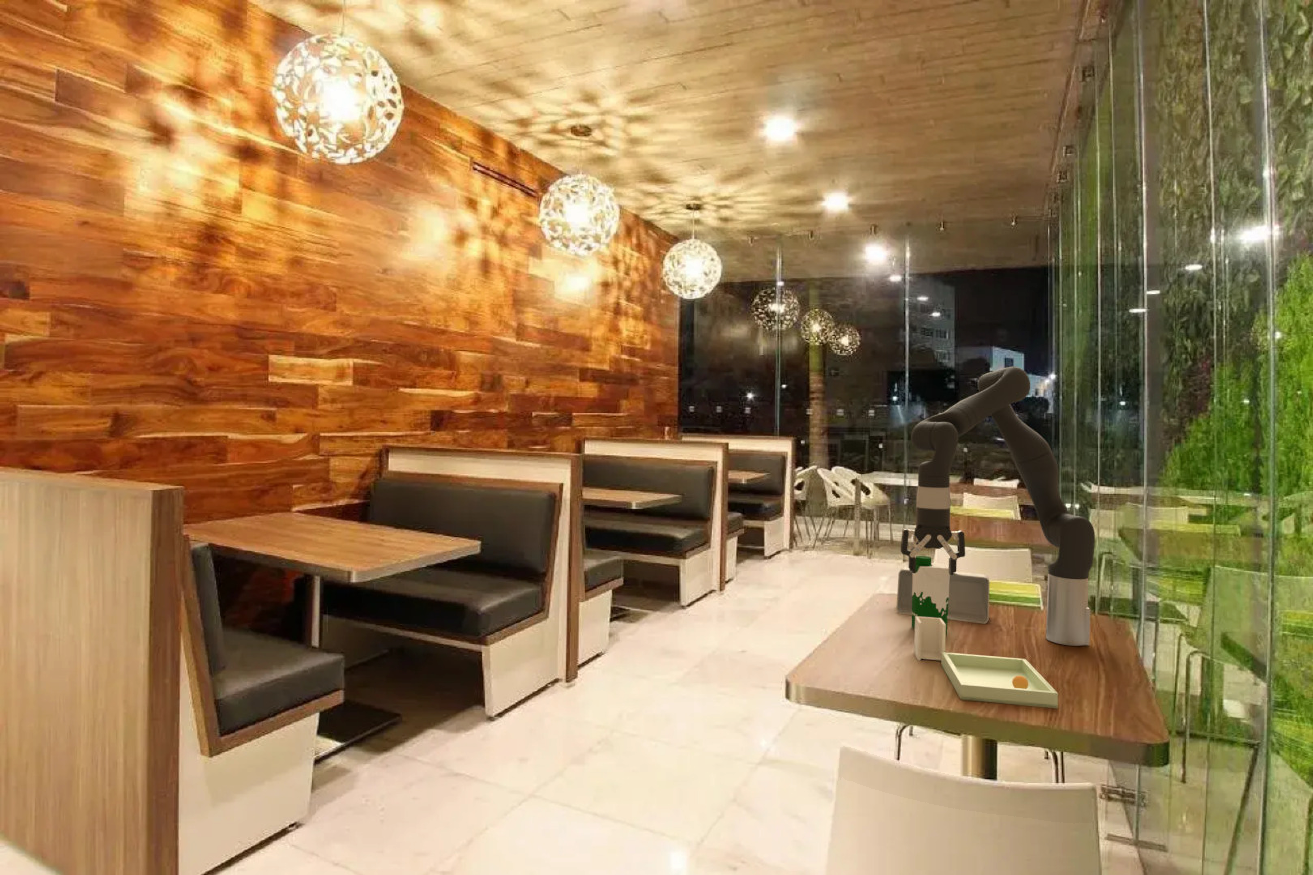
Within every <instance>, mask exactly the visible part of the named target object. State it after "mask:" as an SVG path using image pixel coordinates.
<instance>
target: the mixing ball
mask: <svg viewBox="0 0 1313 875" xmlns="http://www.w3.org/2000/svg"><path fill="white" fill-rule="evenodd" d="M1012 684H1013V686H1014V688H1022V689H1027V687H1028V681H1027V679H1026V678H1025V677H1023V676H1016V677H1014V678H1013V680H1012Z"/></svg>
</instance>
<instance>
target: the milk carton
mask: <svg viewBox="0 0 1313 875" xmlns="http://www.w3.org/2000/svg"><path fill="white" fill-rule="evenodd" d="M915 558H916V573H912V574H913V584H912V615H911V628H913V629H914V630H915V616H918V617H932V618H941V619H942V620H943V621H944V623H945V624H946V635H945V636H947V634H948V621H949V619H948V603H949V579H950V574H949V566H947V565H945V564H943V563H939V562H932V557H930V556H925V555H918V556H917V555H915Z"/></svg>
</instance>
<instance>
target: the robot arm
mask: <svg viewBox="0 0 1313 875" xmlns="http://www.w3.org/2000/svg"><path fill="white" fill-rule="evenodd" d="M977 389H978V390H977V391H978V392H977V393H975V394H972V395H970V396H968V397H966V398H964V399H962V400H960V401H958V402H956V403H955V404H954V405H952V406H950V407H949V408H948V409H946V410H945V411H944V412H942V413H938V414H935V415H932V416H930V417H928V418H926V419H924V420H921V421H920V422H918V423H917V424H916V425H915V426H914V427H913V429H912V431H911V436H910V440H911V444H912V445H913V447H914V448H916V449H917V450H919V451H921V452H922V451H923V452H934V454H933V457H932V459H931V460H928V461H923V462H921V463H920V464H919V465H918V472H917V474H918V478H917V486H918V487H917V492H916V514H915V515H916V516H915V520H916V522H915V529H907V528H902V530H901V543H900V553H901V554H902V555H903V556H904V555H905V556H906V557H908V567H909V570H910V571H911V572H912V573H916V556H917V555H918V553H919V552H920V551H921V550H922V549H923V548H924V549H928V550H930V549H935V550H940V549H942V548H943V549H944V550H945V551H946V553H947V554H948V555H949V558H948V567H949V574H950V575H953V574H954V573H956V572H957V564H958V563H957V562H958V561H957V560H958V559H960V558H964V557H965V556H966V544H965V543H966V542H965V541H966V539H965V538H966V537H965V532H963V531H962V530H957V531H951V505H952V502H951V492H950V482H951V481H950V478H951V477H950V476H951V475H950V472H951V467H952V464H953V461H954V458H955V454H956V450H957V448H958V444H959V437H961V436H963V435H965V434H966V433H968V432H969V431H971V429H973V428H974V427H975V426H977V425H978V424H980V423H982V421H984V420H985V419H987V418H989V416H991V418H992V420H993V422H994V423H995V425H996V427H997V428H998V430H999V433H1000V434H1001V436H1002V438H1003V440H1004V442H1005V445H1006V447H1007V449H1008V450H1009V453H1010V456H1011V458H1012V460H1013V463H1014V465H1015V468H1016V470H1017V472H1018V473H1019V475H1020V478H1021V479H1022V481H1023V483H1024V486H1025V488H1026V490H1027V493H1028V495H1029V498H1030V499H1031V501H1032V503H1033V506H1034V509H1035V512H1036V514H1037V518H1038V522H1039V524H1040V525H1039V526H1040V527H1041V530H1042V533H1043V536H1044V538H1045V539H1046V541H1048V543H1049V544H1050V545H1052V546H1054V547H1056V548H1058V557H1057V559H1056V560H1055V561H1052V562H1050V563H1049V564H1048V568H1047V570H1048V572H1047V573H1048V574H1047V597H1046V598H1047V600H1046V601H1047V602H1046V621H1045V622H1046V626H1045V627H1046V628H1045V639H1046V640H1048V641H1050V642H1053V643H1055V644H1060V645H1065V646H1072V647H1073V646H1075V647H1078V646H1090V635H1091V634H1090V629H1091V628H1090V627H1091V608H1090V607H1089V606H1088V605H1089V603H1088V602H1089V601H1088V600H1089V598H1088V597H1089V574H1090V571H1091V569H1092V567H1093V562H1094V553H1095V543H1096V537H1095V536H1096V535H1095V534H1096V533H1095V529H1094V526H1093V524H1092V522H1090V520H1089V519H1088V518H1085V517H1083V516H1080V515H1075V514H1070V513H1069V511H1068V509H1067V508H1066V506H1065V504H1064V502H1063V500H1062V498H1061V495H1060V492H1059V466H1058V462H1057V460H1056V458H1055V456H1054V453H1053V452H1052V449H1051V447H1050V445H1049V443H1048V442H1047V441H1046V439H1045V438H1043V436H1041V435H1040V434H1039V433H1038V432H1037V431H1035V430H1034V429H1033V428H1031V427H1030V426H1028V425H1027V424H1026V423H1024V422H1023V421H1022V420H1021V419H1020V418H1019V416H1017V414H1016V412H1015V411H1014V409H1013V407H1012V406H1011V405H1012V404H1015V403H1017V402H1020V401H1023V400H1024V399H1025V398H1026V397H1027V396H1028V395H1029V393H1030V390H1031V380H1030V378H1029V375H1028V373H1027V372H1026V371H1025V370H1024V369H1022V368H1021V367H1018V366H1009V367H1004V368H1001V369H1000V368H999V369H997V370H993V371H990V372H987V373H984V374H982V375H981V376H980V377H979V379H978V382H977ZM913 535H914V536H915V537H916V539H917V541H916V542H915V543H914V544H913V546H912V547H911V549H910V550H909V549H908V546H909V540H910V539H911V538H912V536H913ZM952 537H953V539H954V540H955V541H956V546H957V547H956V548H957V551H953V548H952V547H951V546H950V545H949V543H948V542H949V541H950V539H951V538H952Z"/></svg>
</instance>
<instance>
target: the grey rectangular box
mask: <svg viewBox="0 0 1313 875" xmlns="http://www.w3.org/2000/svg"><path fill="white" fill-rule="evenodd" d="M897 578H898V579H897V594H896V611H897V613H898V614H899V615H900V614H901V615H908V616H912V584H913V574H912V572H911V571H910V570H909V566H903V567H901V568H900V570H899V572H898V577H897ZM989 613H990V578H989V576H988V575H986V574H983V573H973V572H962V571H956V573H954V574H953V575H950V579H949V603H948V620H951V621H960V622H968V623H975V624H984V625H986V624H987V623H988V622H989V620H990V614H989Z"/></svg>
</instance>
